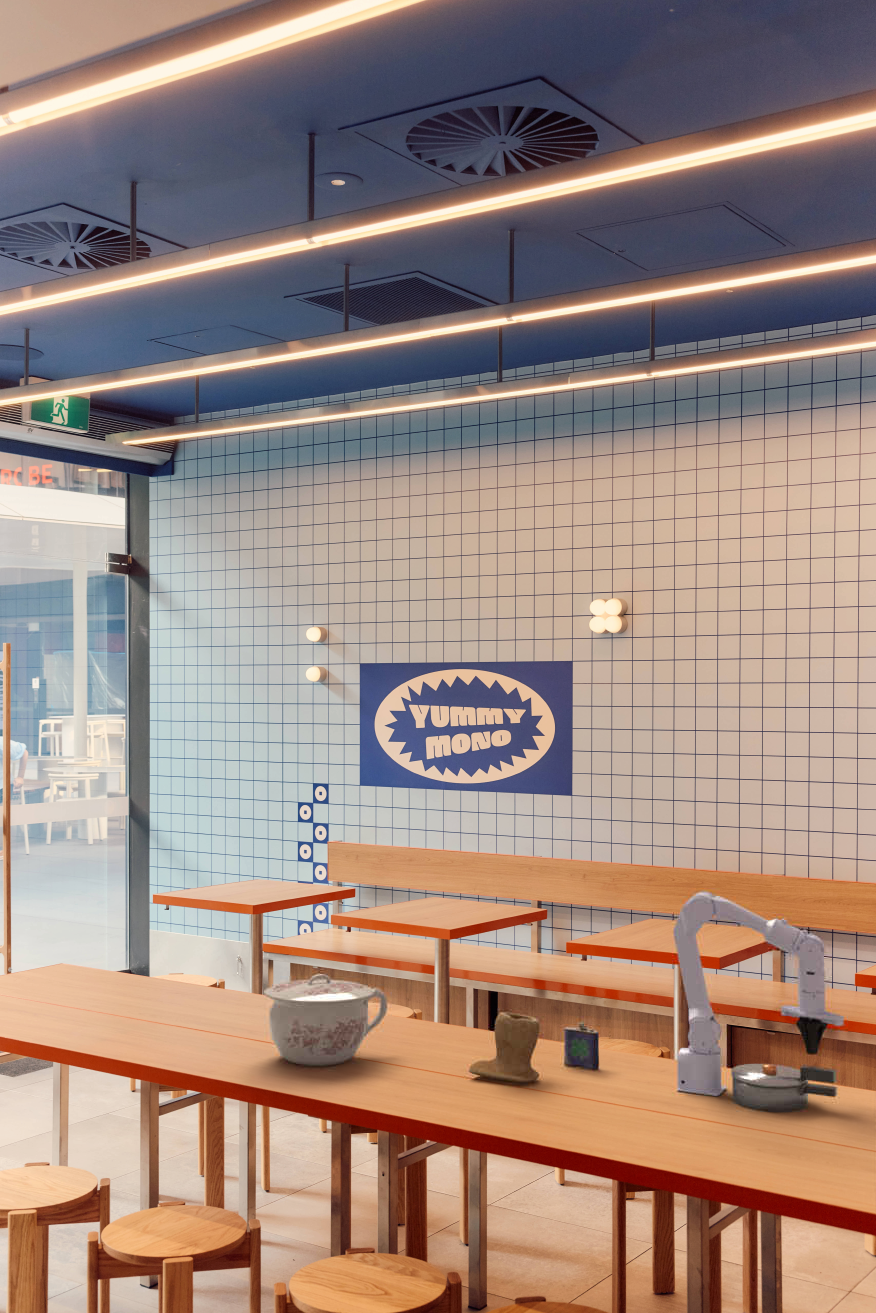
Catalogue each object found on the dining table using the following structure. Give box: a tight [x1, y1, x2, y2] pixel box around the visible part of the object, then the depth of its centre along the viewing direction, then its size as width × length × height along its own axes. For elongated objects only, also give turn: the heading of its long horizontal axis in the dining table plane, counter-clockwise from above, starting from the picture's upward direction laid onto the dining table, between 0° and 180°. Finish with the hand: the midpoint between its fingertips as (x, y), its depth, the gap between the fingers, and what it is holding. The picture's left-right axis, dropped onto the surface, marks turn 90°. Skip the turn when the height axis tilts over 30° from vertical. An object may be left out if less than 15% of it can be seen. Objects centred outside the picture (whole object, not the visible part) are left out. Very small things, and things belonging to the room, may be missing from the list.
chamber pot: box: [263, 973, 388, 1067], centre depth 301 cm, size 28×28×21 cm
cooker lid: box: [730, 1063, 837, 1088], centre depth 266 cm, size 22×16×3 cm
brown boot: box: [468, 1012, 540, 1083], centre depth 285 cm, size 15×12×15 cm
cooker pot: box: [731, 1076, 838, 1113], centre depth 266 cm, size 22×16×5 cm
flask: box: [563, 1021, 600, 1071], centre depth 297 cm, size 9×3×11 cm, turn 55°
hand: (812, 1053), depth 269 cm, fingers closed
